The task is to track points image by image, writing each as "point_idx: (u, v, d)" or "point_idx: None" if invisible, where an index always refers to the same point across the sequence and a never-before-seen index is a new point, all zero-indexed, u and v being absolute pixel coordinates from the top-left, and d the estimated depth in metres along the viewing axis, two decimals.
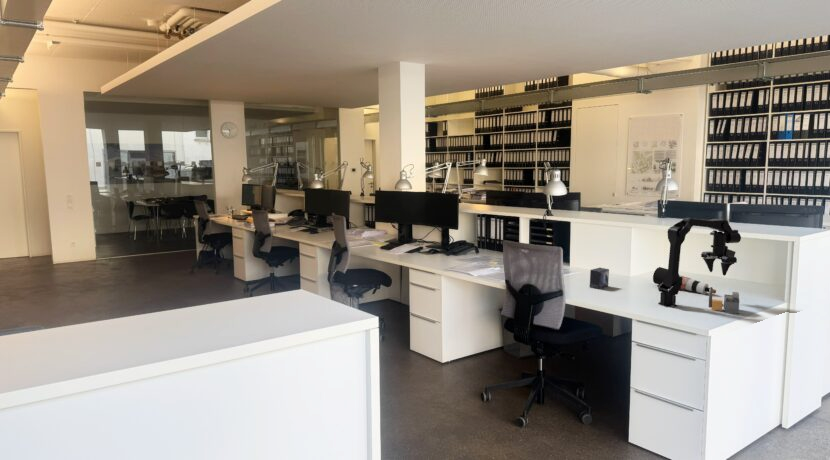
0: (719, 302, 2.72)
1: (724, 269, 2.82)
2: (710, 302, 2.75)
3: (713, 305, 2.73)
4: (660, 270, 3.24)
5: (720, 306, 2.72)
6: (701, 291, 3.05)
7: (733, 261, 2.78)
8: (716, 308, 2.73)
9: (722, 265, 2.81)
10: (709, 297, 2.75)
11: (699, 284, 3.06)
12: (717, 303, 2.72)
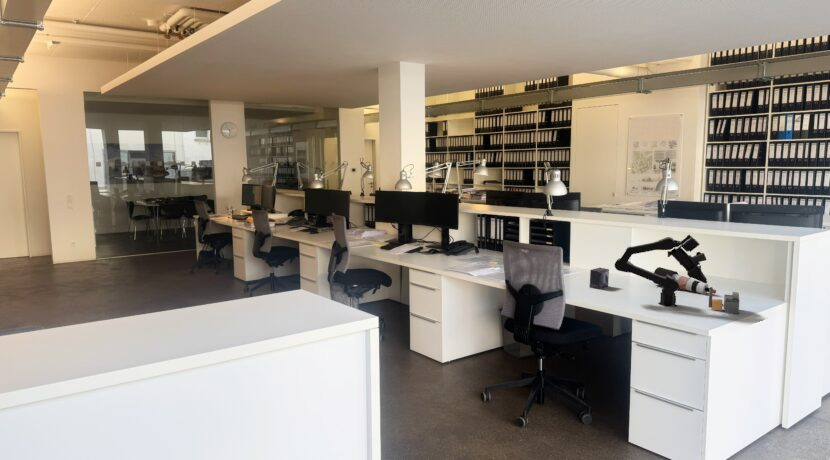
0: (719, 302, 2.72)
1: (699, 279, 2.73)
2: (710, 302, 2.75)
3: (713, 305, 2.73)
4: (660, 270, 3.23)
5: (720, 306, 2.72)
6: (701, 291, 3.05)
7: (695, 271, 2.68)
8: (716, 308, 2.73)
9: None
10: (709, 297, 2.75)
11: (699, 284, 3.06)
12: (717, 303, 2.72)
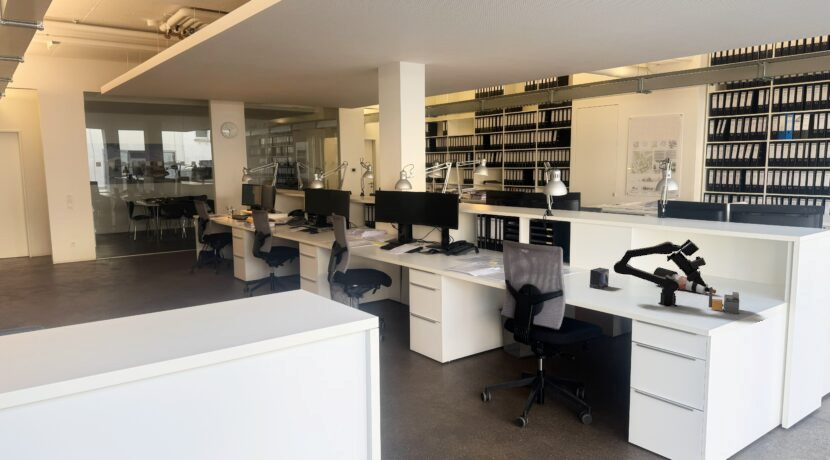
0: (719, 302, 2.72)
1: (698, 282, 2.75)
2: (710, 302, 2.75)
3: (713, 305, 2.73)
4: (660, 270, 3.23)
5: (720, 306, 2.72)
6: (701, 291, 3.05)
7: (694, 276, 2.69)
8: (716, 308, 2.73)
9: (693, 281, 2.76)
10: (709, 297, 2.75)
11: None
12: (717, 303, 2.72)
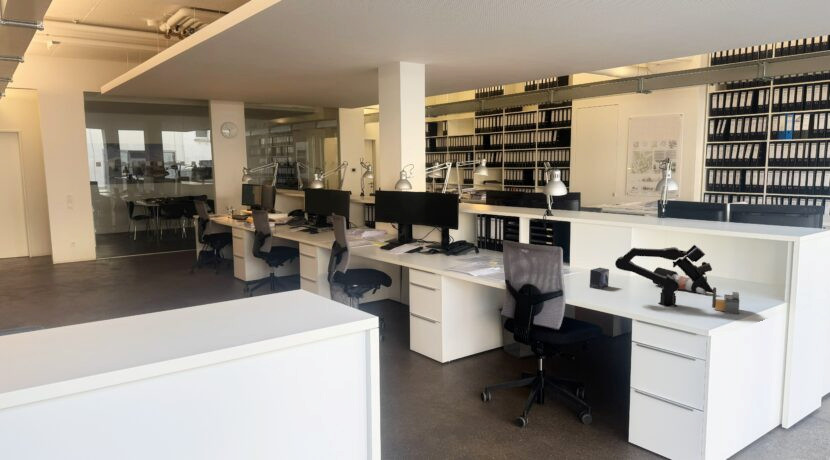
0: (723, 302, 2.71)
1: (705, 288, 2.75)
2: (714, 302, 2.74)
3: (717, 305, 2.72)
4: (659, 270, 3.23)
5: (724, 306, 2.71)
6: (701, 291, 3.05)
7: (701, 282, 2.68)
8: (720, 308, 2.72)
9: None
10: (713, 297, 2.74)
11: None
12: (721, 303, 2.71)
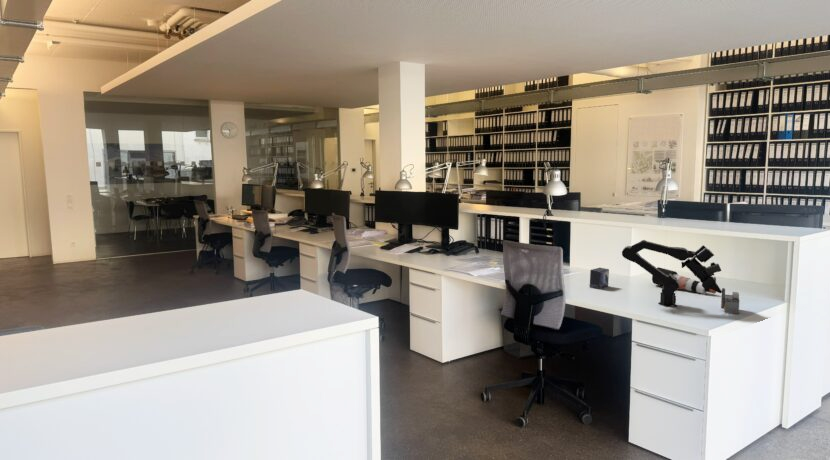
0: None
1: (714, 289, 2.73)
2: (723, 303, 2.73)
3: None
4: None
5: None
6: (701, 291, 3.05)
7: (710, 283, 2.66)
8: None
9: None
10: (721, 298, 2.73)
11: (699, 284, 3.06)
12: None
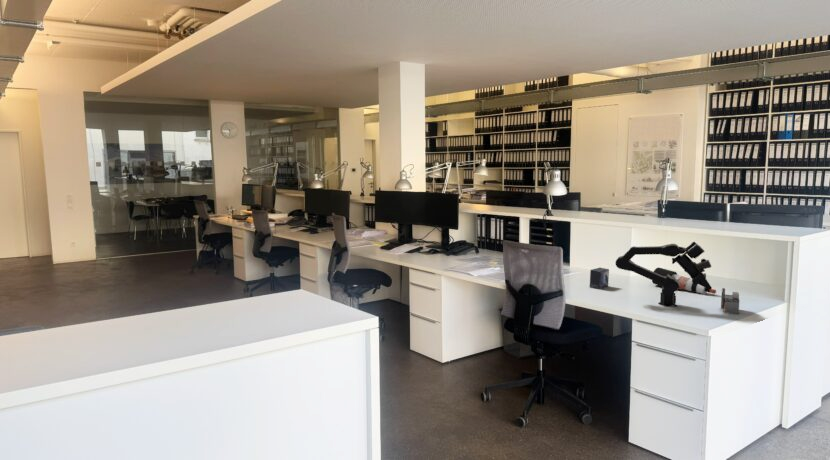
0: None
1: (704, 285, 2.75)
2: (722, 303, 2.73)
3: None
4: (659, 270, 3.23)
5: None
6: (701, 291, 3.05)
7: (700, 279, 2.68)
8: None
9: None
10: (721, 298, 2.73)
11: None
12: None
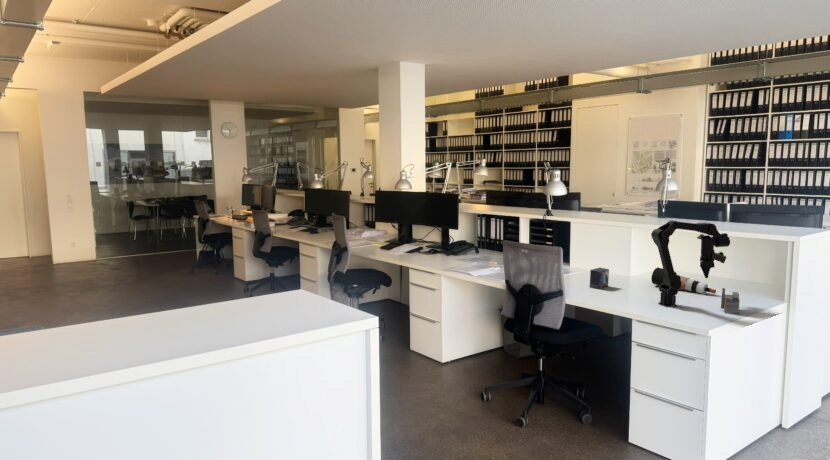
0: None
1: (704, 271, 2.83)
2: (722, 303, 2.73)
3: None
4: (659, 270, 3.23)
5: None
6: (701, 291, 3.05)
7: (708, 266, 2.75)
8: None
9: (701, 267, 2.83)
10: (721, 298, 2.73)
11: (699, 284, 3.06)
12: None
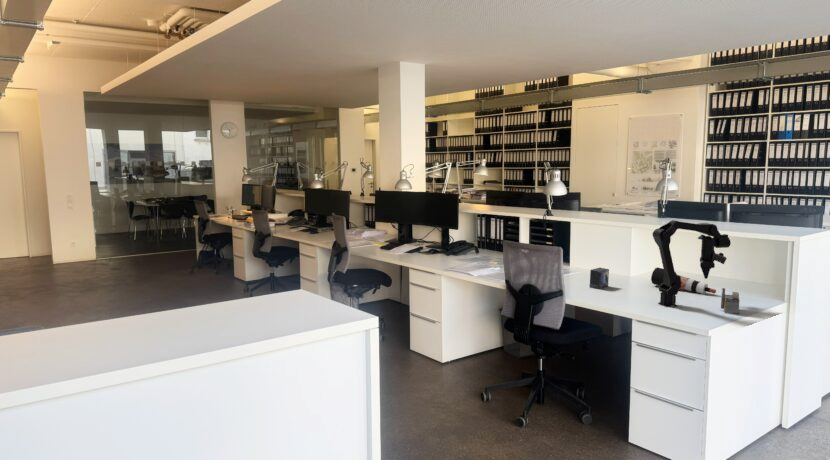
0: None
1: (704, 272, 2.84)
2: (722, 303, 2.73)
3: None
4: (658, 270, 3.22)
5: None
6: (701, 291, 3.05)
7: (709, 266, 2.75)
8: None
9: (701, 268, 2.84)
10: (721, 298, 2.73)
11: (699, 284, 3.06)
12: None
